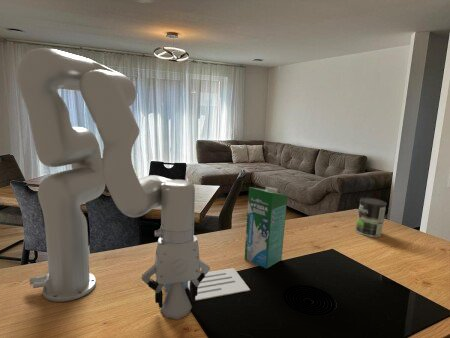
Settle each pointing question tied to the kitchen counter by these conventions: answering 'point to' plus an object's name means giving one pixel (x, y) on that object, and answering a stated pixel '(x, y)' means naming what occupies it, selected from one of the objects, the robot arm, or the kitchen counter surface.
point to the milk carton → (265, 226)
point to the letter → (220, 284)
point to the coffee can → (370, 217)
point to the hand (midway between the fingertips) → (176, 300)
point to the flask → (176, 302)
